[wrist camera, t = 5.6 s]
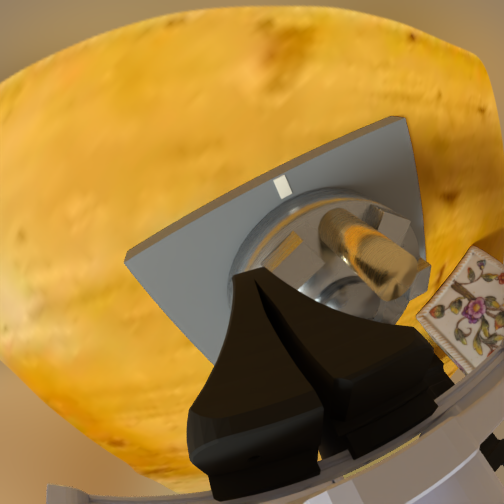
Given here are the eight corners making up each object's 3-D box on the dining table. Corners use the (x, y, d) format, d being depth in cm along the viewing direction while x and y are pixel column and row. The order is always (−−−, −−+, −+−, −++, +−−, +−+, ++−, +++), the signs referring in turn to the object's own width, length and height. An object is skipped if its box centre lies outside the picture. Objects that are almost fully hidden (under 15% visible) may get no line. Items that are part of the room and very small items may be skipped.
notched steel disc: (389, 310, 23) (443, 369, 16) (254, 369, 22) (285, 453, 15) (392, 167, 16) (490, 209, 9) (197, 227, 15) (219, 328, 8)
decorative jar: (482, 283, 31) (558, 353, 15) (434, 342, 33) (503, 424, 18) (471, 239, 25) (580, 324, 10) (412, 315, 27) (509, 425, 12)
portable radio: (382, 387, 34) (463, 512, 13) (403, 358, 32) (499, 490, 10) (414, 377, 37) (490, 483, 15) (433, 350, 34) (520, 459, 13)
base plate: (416, 277, 24) (426, 285, 23) (239, 380, 24) (243, 393, 23) (391, 115, 16) (405, 117, 15) (127, 251, 16) (123, 263, 15)
